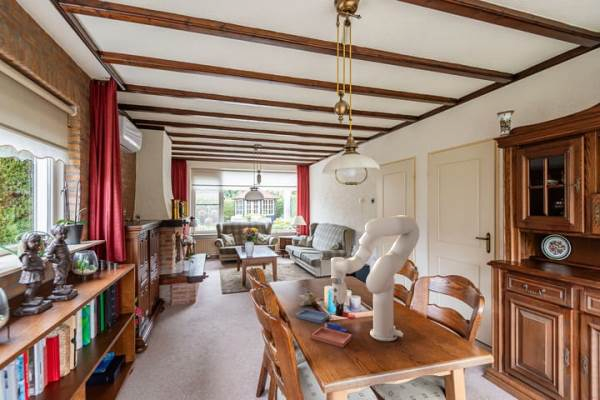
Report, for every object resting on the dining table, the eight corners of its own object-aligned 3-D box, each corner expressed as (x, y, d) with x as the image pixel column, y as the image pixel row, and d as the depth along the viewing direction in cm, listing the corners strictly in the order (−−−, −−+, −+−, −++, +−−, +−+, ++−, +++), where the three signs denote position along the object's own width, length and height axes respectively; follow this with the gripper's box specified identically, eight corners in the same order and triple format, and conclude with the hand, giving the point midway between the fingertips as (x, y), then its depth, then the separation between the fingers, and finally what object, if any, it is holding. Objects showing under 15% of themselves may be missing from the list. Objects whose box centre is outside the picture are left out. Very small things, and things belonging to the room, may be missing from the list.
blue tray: (330, 317, 159) (330, 313, 159) (321, 323, 150) (321, 320, 150) (305, 311, 167) (305, 308, 167) (296, 317, 159) (296, 314, 159)
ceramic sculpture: (295, 290, 181) (316, 288, 187) (294, 303, 181) (315, 302, 187) (301, 294, 172) (323, 293, 177) (300, 309, 171) (322, 307, 177)
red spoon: (334, 316, 150) (334, 311, 150) (337, 314, 153) (337, 309, 153) (353, 319, 144) (353, 314, 144) (356, 317, 147) (356, 312, 147)
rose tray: (351, 338, 133) (351, 334, 133) (343, 347, 124) (343, 343, 124) (321, 330, 141) (321, 326, 142) (311, 338, 133) (311, 334, 133)
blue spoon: (325, 329, 143) (325, 323, 143) (329, 326, 147) (329, 321, 147) (345, 334, 138) (345, 328, 138) (348, 331, 141) (348, 325, 141)
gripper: (339, 284, 142) (340, 321, 141) (350, 278, 156) (352, 312, 155) (325, 283, 146) (327, 319, 145) (338, 277, 160) (339, 310, 159)
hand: (340, 315), depth 150 cm, fingers closed on red spoon, 1 cm apart
